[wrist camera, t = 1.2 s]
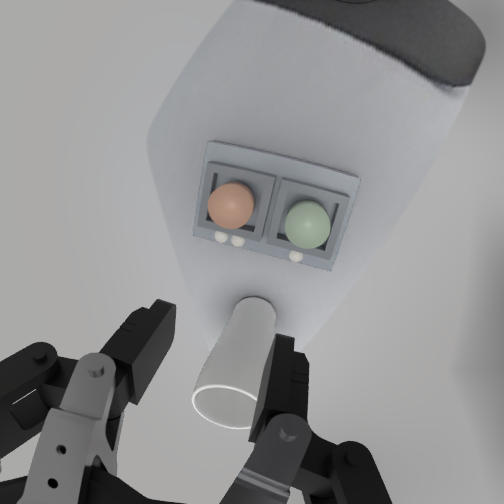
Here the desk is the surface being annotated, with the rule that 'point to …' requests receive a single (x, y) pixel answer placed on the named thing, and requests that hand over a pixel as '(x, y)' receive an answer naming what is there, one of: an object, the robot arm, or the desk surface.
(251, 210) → the button two
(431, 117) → the desk surface
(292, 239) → the button one
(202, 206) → the two-button control panel
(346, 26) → the desk surface
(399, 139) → the desk surface
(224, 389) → the drinking glass
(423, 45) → the desk surface
